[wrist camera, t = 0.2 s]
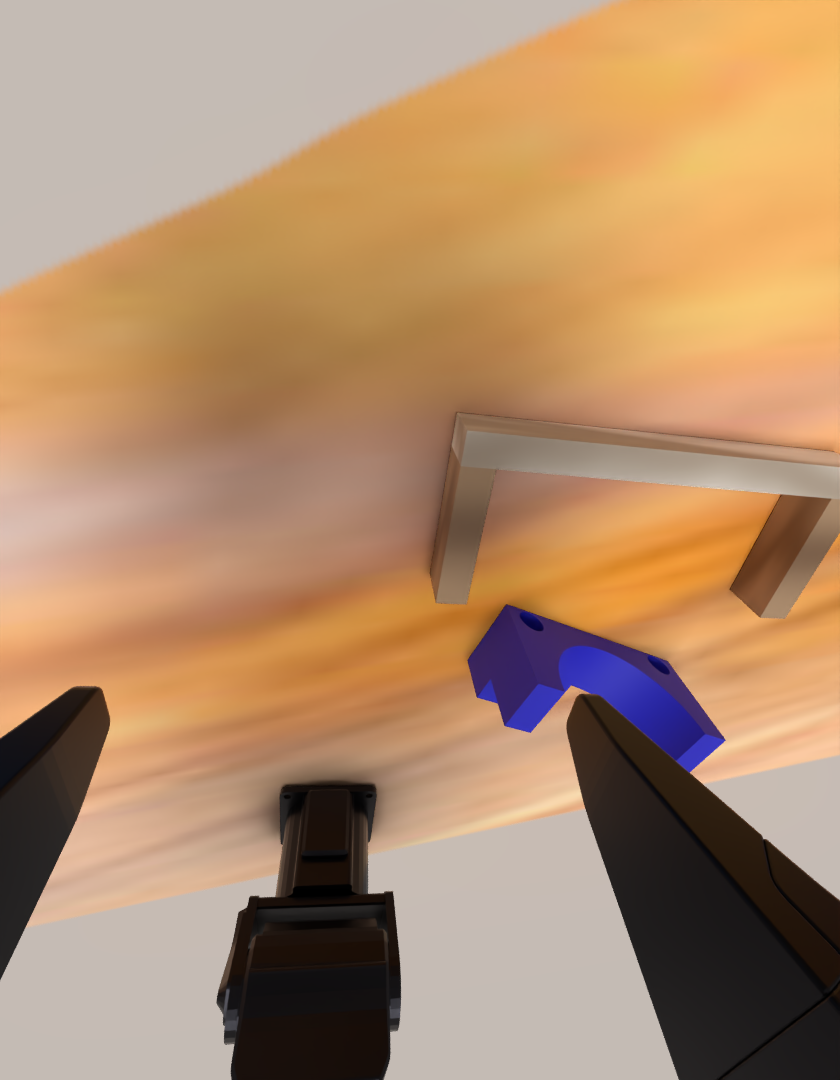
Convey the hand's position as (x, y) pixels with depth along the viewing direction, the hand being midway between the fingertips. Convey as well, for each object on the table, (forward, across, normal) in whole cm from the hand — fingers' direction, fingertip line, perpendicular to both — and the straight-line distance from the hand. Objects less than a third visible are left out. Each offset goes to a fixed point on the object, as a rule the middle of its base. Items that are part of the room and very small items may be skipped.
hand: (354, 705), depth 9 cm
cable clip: (+15, -14, +12) cm, 24 cm away
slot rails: (+14, -14, +3) cm, 20 cm away
